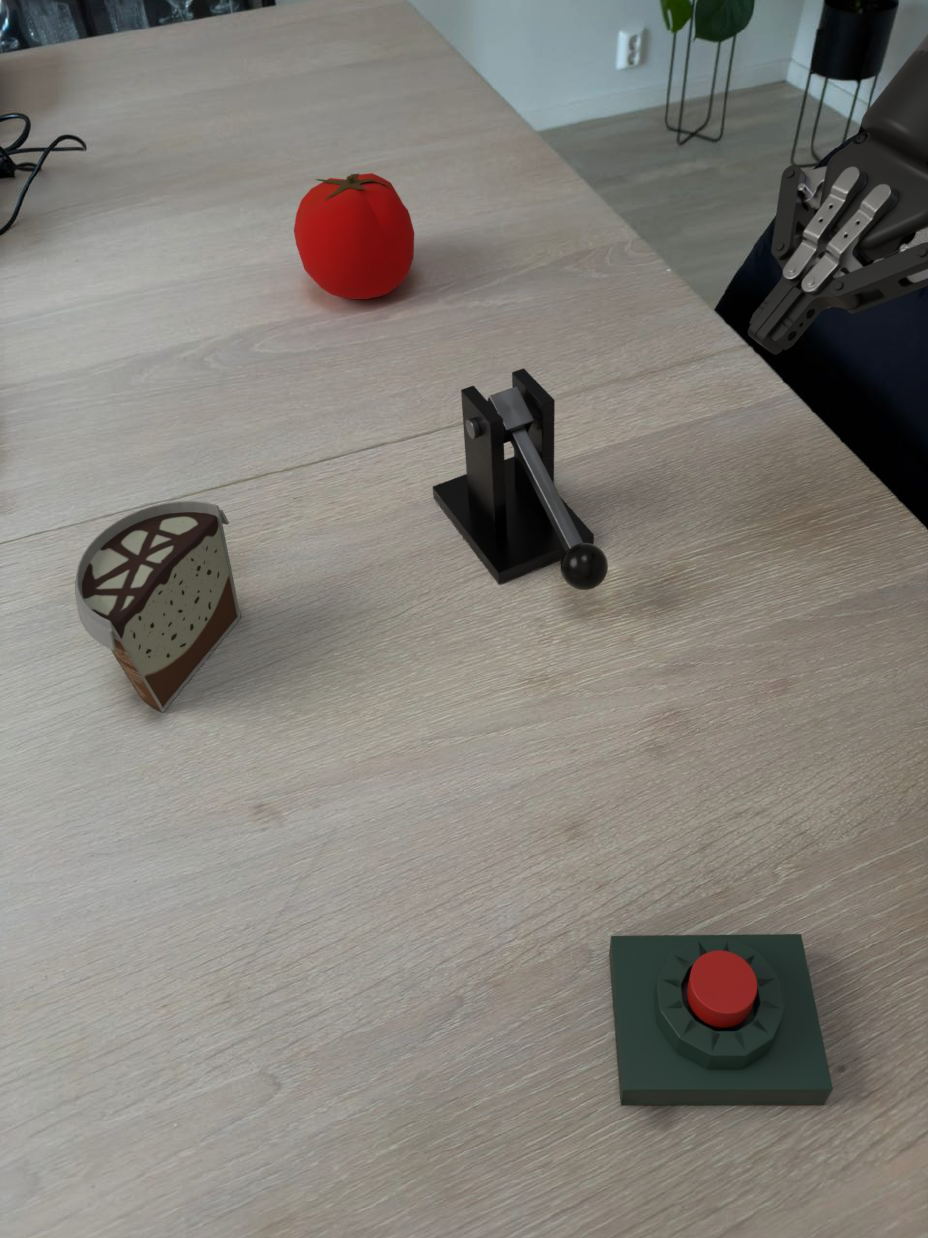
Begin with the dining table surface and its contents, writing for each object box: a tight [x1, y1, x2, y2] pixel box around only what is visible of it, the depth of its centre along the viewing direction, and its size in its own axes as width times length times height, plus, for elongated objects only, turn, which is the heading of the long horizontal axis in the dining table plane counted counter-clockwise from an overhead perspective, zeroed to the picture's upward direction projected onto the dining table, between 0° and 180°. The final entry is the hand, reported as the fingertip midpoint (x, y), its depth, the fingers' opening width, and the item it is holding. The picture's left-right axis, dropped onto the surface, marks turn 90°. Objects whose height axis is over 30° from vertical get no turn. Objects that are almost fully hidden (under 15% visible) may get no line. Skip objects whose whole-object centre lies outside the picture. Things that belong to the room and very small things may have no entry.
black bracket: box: [432, 367, 595, 585], centre depth 79 cm, size 11×8×12 cm
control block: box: [608, 933, 834, 1106], centre depth 55 cm, size 10×8×4 cm
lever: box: [486, 386, 609, 591], centre depth 75 cm, size 15×3×3 cm, turn 27°
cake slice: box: [74, 500, 242, 714], centre depth 73 cm, size 12×6×10 cm, turn 154°
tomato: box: [293, 172, 415, 300], centre depth 104 cm, size 12×12×11 cm
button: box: [687, 951, 757, 1028], centre depth 54 cm, size 3×3×2 cm
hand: (761, 344), depth 67 cm, fingers closed
